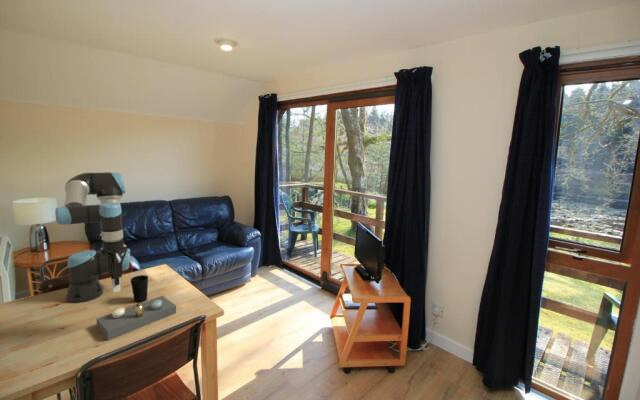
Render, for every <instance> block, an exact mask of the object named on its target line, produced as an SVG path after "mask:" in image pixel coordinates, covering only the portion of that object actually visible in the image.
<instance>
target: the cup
mask: <svg viewBox="0 0 640 400" xmlns="http://www.w3.org/2000/svg"><path fill="white" fill-rule="evenodd" d="M130 285H131V291H132V293H133V301H134V303H136V304H138V303H143V302H146V301H148V286H149V276H148V275H146V274H145V275H144V274H141V275H136V276H133V277H131V278H130Z"/></svg>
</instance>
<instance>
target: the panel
mask: <svg viewBox="0 0 640 400" xmlns="http://www.w3.org/2000/svg"><path fill="white" fill-rule="evenodd" d="M154 300H162V307H161V308H160V309H157V310H153V309H151V307H150V303H151V302H152V301H154ZM141 304H142V308H143V316H142V317H139V318H137V317H136V314H135V305H136V304H134V305H131V306H130V307H129V306H128V307H126V308H125V315H124V316H122V317H120V318H117V319H115V318H113V317H112V312H111V313H108V314H106V315H103V316H100V317H98V318H96V327H97V329H98V330H99V332H101V333H102V336H105V338H106V340H107V341H110V340H113V339H116V338H119V337H120V336H123V335H125V334H128V333H131V332H133V331H135V330H138V329H140V328H143V327H145V326H147V325H150V324H152V323H155V322H158V321H160V320H162V319H165V318H168V317H169V316H172V315H175V314H177V304H175V303H173V302H172V301H171V300H169V299H168V298H166V297H165V296H164V295H160V296H158V297H155V298H151V299H150V300H146V301H144V302H141Z"/></svg>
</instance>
